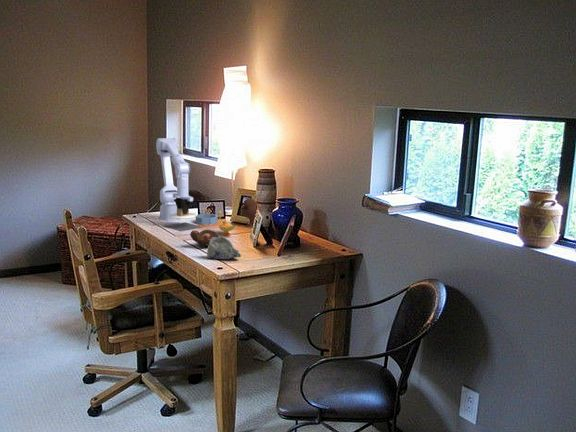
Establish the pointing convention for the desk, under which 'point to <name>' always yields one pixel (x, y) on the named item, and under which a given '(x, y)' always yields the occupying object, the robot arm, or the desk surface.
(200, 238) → the decorative turtle
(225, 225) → the magic lamp
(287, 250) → the desk surface
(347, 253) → the desk surface
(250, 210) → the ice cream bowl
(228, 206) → the desk surface
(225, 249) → the mineral rock
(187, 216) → the lid
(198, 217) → the dish
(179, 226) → the mat
